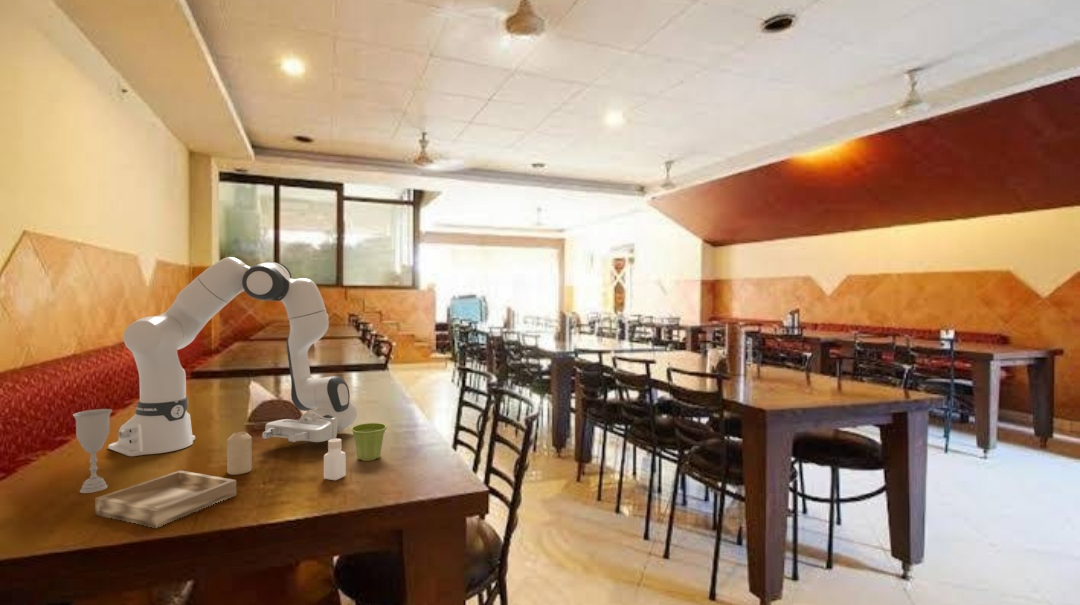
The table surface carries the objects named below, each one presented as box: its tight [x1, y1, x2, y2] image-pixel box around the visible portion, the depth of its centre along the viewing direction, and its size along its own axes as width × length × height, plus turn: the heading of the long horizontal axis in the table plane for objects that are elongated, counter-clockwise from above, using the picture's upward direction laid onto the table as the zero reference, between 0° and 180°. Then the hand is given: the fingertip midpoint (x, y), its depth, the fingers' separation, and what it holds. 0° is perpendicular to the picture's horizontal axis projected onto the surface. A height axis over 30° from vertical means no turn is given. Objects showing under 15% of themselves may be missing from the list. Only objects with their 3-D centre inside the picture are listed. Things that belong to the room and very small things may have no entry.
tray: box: [94, 469, 237, 530], centre depth 115 cm, size 18×18×4 cm
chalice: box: [72, 408, 113, 494], centre depth 123 cm, size 7×7×18 cm
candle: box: [226, 431, 253, 476], centre depth 136 cm, size 6×6×10 cm
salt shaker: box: [323, 437, 347, 481], centre depth 132 cm, size 4×4×10 cm
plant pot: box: [350, 422, 388, 462], centre depth 147 cm, size 9×9×9 cm
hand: (277, 437), depth 147 cm, fingers open, 8 cm apart
